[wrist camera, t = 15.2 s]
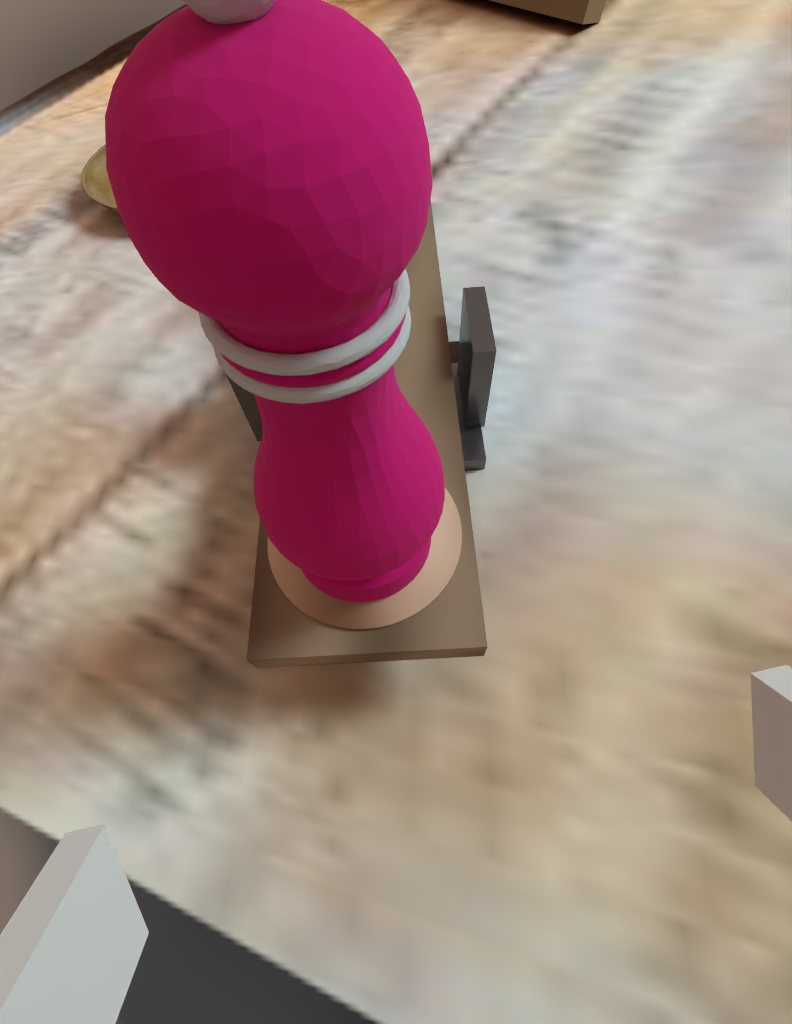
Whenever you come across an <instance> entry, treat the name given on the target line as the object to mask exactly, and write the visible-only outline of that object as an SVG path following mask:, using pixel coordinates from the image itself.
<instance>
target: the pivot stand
mask: <svg viewBox="0 0 792 1024" xmlns="http://www.w3.org/2000/svg"><path fill="white" fill-rule="evenodd" d="M459 352H460V358H459V363H451V366H452V373H453V381H454V389H455V397H456V405H457V413H458V421H459V429H460V436H461V444H462V452H463V460H464V468H465V470H471V469H484V468H485V462H486V456H485V450H484V443H483V436H482V430H481V427H484V425H485V418H486V412H487V406H488V399H489V393H490V387H491V381H492V374H493V368H494V362H495V355H496V347H495V341H494V336H493V330H492V325H491V319H490V314H489V309H488V303H487V298H486V292H485V287H471V288H463V299H462V313H461V326H460V340H459ZM226 375H227V374H226ZM227 377H228V379H229V381H230V384H231V386H232V388H233V390H234V392H235V394H236V396H237V398H238V401H239V403H240V405H241V407H242V409H243V411H244V413H245V415H246V417H247V420H248V422H249V424H250V426H251V428H252V430H253V432H254V434H255V437H256V439H257V441H261V440H262V436H263V427H262V419H261V415H260V412H259V409H258V405H257V402H256V399H255V396H254V394H253V393H251V392H249V391H247V390H245V389H243V388H242V387H241V386H239V385H238V384H236V383H235V382H234V381H233V380H232V379H231V378H230V377H229V376H228V375H227Z"/></svg>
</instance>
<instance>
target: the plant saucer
mask: <svg viewBox="0 0 792 1024" xmlns="http://www.w3.org/2000/svg"><path fill="white" fill-rule="evenodd" d="M81 181H82V186H83V188H84V190H85V192H86V193H87V195H88V196H89V197H90V198H92V199H93V200H95V201H96V202H98V203H99V204H101V205H103V206H105V207H106V208H108V209H110V210H112V211H115V212H117V213H119V212H118V209H117V205H116V202H115V198H114V195H113V191H112V187H111V184H110V180H109V177H108V173H107V170H106V145H104V146H103V147H101V148H100V149H99V150H98V151H97V152H96V153H95V154H94V155H93V156H92V157H91V158H90V159H89V161H88V162H87V164H86V165H85V167H84V169H83V172H82V179H81Z"/></svg>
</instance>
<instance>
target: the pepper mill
mask: <svg viewBox="0 0 792 1024" xmlns="http://www.w3.org/2000/svg"><path fill="white" fill-rule="evenodd" d="M183 1H184V2H185V3H186V4H187V5H188V7H185V8H183V9H181V10H179V11H178V12H176V13H174V14H172V15H170V16H169V17H167V18H166V19H165V20H163V21H162V22H161V23H159V24H158V25H157V26H156V27H155V28H154V29H153V30H152V31H151V32H149V33H148V34H147V35H146V36H145V37H144V38H143V39H142V40H141V41H140V42H139V43H138V44H137V45H136V47H135V48H134V50H133V51H132V53H131V54H130V56H129V57H128V59H127V61H126V62H125V64H124V65H123V67H122V69H121V71H120V73H119V75H118V77H117V79H116V81H115V83H114V85H113V88H112V92H111V96H110V99H109V103H108V107H107V111H106V115H105V133H106V170H107V173H108V177H109V180H110V184H111V187H112V191H113V195H114V198H115V202H116V205H117V209H118V212H119V215H120V217H121V219H122V222H123V224H124V226H125V228H126V230H127V233H128V235H129V237H130V239H131V240H132V242H133V244H134V246H135V247H136V249H137V251H138V252H139V254H140V256H141V258H142V259H143V261H144V263H145V264H146V265H147V266H148V268H149V269H150V270H151V271H152V273H153V274H154V275H155V277H156V278H157V279H158V280H159V281H160V282H161V283H162V284H163V285H164V286H165V287H166V288H167V289H168V290H169V291H170V292H171V293H172V294H173V295H174V296H175V297H176V298H177V299H178V300H179V301H181V302H183V303H185V304H186V305H188V306H190V307H192V308H193V309H195V310H197V311H199V316H200V321H201V326H202V328H203V330H204V332H205V334H206V337H207V338H208V339H209V341H210V342H211V343H212V345H213V347H214V351H215V355H216V358H217V360H218V362H219V365H220V366H221V367H222V369H223V370H224V372H225V373H226V374H227V375H228V376H229V377H230V378H231V379H232V380H233V381H234V382H235V383H236V384H238V385H239V386H241V387H242V388H243V389H245V390H247V391H249V392H251V393H253V394H254V396H255V399H256V402H257V405H258V409H259V412H260V415H261V419H262V427H263V436H262V440H261V443H260V447H259V450H258V454H257V458H256V463H255V471H254V496H255V502H256V508H257V510H258V513H259V516H260V519H261V521H262V524H263V526H264V528H265V531H266V533H267V535H268V537H269V539H270V541H271V542H272V543H273V544H274V546H275V547H276V548H277V550H278V551H279V552H280V553H281V554H282V555H283V556H284V557H285V558H286V559H287V560H289V561H290V562H291V563H293V564H294V565H295V566H297V567H299V568H300V569H301V570H302V572H303V573H304V575H305V577H306V578H307V579H308V580H309V581H310V582H311V583H312V584H313V585H314V586H315V587H316V588H318V589H319V590H320V591H321V592H323V593H325V594H327V595H329V596H331V597H333V598H336V599H340V600H344V601H349V602H369V601H376V600H379V599H383V598H386V597H388V596H391V595H393V594H395V593H397V592H398V591H400V590H402V589H403V588H404V587H406V586H407V585H408V584H409V583H410V582H412V581H413V580H414V579H415V577H416V576H417V575H418V574H419V572H420V571H421V569H422V568H423V566H424V564H425V562H426V560H427V558H428V554H429V551H430V546H431V536H432V535H433V533H434V531H435V529H436V527H437V526H438V523H439V520H440V518H441V515H442V512H443V506H444V500H445V484H444V474H443V468H442V462H441V458H440V455H439V453H438V450H437V447H436V445H435V443H434V441H433V438H432V436H431V434H430V432H429V430H428V429H427V427H426V425H425V424H424V422H423V421H422V420H421V418H420V417H419V416H418V414H417V413H416V412H415V411H414V409H413V408H412V407H411V405H410V404H409V403H408V401H407V400H406V398H405V397H404V396H403V394H402V393H401V391H400V388H399V386H398V383H397V381H396V376H395V370H394V363H395V362H396V361H397V360H398V358H399V356H400V355H401V353H402V352H403V350H404V348H405V346H406V343H407V340H408V338H409V335H410V327H411V315H410V309H409V305H408V303H409V299H410V284H409V279H408V274H407V272H406V269H405V268H406V267H407V265H408V264H409V262H410V260H411V259H412V257H413V256H414V254H415V253H416V251H417V250H418V248H419V245H420V242H421V240H422V237H423V234H424V232H425V229H426V226H427V219H428V212H429V205H430V198H431V191H432V175H431V163H430V152H429V143H428V138H427V134H426V129H425V125H424V120H423V116H422V111H421V107H420V104H419V101H418V99H417V97H416V95H415V92H414V90H413V88H412V85H411V83H410V81H409V79H408V77H407V76H406V74H405V73H404V71H403V70H402V68H401V66H400V65H399V63H398V62H397V60H396V59H395V57H394V56H393V54H392V53H391V52H390V50H389V49H388V48H387V46H386V45H385V44H384V43H383V41H382V40H381V39H380V38H379V37H378V36H377V35H375V34H374V33H373V32H372V31H371V30H369V29H368V28H367V27H365V26H364V25H363V24H362V23H360V22H359V21H358V20H356V19H355V18H354V17H352V16H351V15H350V14H348V13H347V12H346V11H344V10H343V9H341V8H338V7H336V6H333V5H331V4H329V3H326V2H324V1H321V0H183Z"/></svg>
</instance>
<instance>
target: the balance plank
mask: <svg viewBox="0 0 792 1024" xmlns="http://www.w3.org/2000/svg"><path fill="white" fill-rule="evenodd" d="M405 269H406V272H407V274H408V279H409V284H410V299H409V303H408V305H409V309H410V315H411V327H410V335H409V338H408V340H407V343H406V346H405V348H404V350H403V352H402V353H401V355H400V356H399V358H398V360H397V361H396V362H395V363H394V370H395V376H396V381H397V383H398V386H399V388H400V391H401V393H402V394H403V396H404V397H405V398H406V400H407V401H408V403H409V404H410V405H411V407H412V408H413V409H414V411H415V412H416V413H417V414H418V416H419V417H420V418H421V420H422V421H423V422H424V424H425V425H426V427H427V429H428V430H429V432H430V434H431V436H432V438H433V441H434V443H435V445H436V447H437V450H438V453H439V455H440V458H441V462H442V468H443V474H444V484H445V500H444V506H443V512H442V515H441V518H440V520H439V523H438V526H437V527H436V529H435V531H434V533H433V535H432V536H431V546H430V551H429V554H428V558H427V560H426V562H425V564H424V566H423V568H422V569H421V571H420V572H419V574H418V575H417V576H416V577H415V579H414V580H413V581H412V582H410V583H409V584H408V585H407V586H406V587H404V588H403V589H402V590H400V591H398V592H397V593H395V594H393V595H391V596H388V597H386V598H383V599H379V600H376V601H369V602H349V601H344V600H340V599H336V598H333V597H331V596H329V595H327V594H325V593H323V592H321V591H320V590H319V589H318V588H316V587H315V586H314V585H313V584H312V583H311V582H310V581H309V580H308V579H307V578H306V577H305V575H304V573H303V572H302V570H301V569H300V568H299V567H297V566H295V565H294V564H293V563H291V562H290V561H289V560H287V559H286V558H285V557H284V556H283V555H282V554H281V553H280V552H279V551H278V550H277V548H276V547H275V546H274V544H273V543H272V542H271V541H270V539H269V537H268V535H267V533H266V531H265V528H264V526H263V524H262V521H261V519H260V528H259V538H258V549H257V559H256V570H255V580H254V591H253V601H252V612H251V622H250V633H249V644H248V654H247V660H248V661H249V662H250V663H251V664H253V665H254V666H255V667H256V668H268V667H286V666H304V665H323V664H341V663H359V662H378V661H396V660H414V659H433V658H451V657H469V656H484V654H485V651H486V649H487V641H486V633H485V625H484V618H483V610H482V602H481V594H480V586H479V578H478V570H477V562H476V555H475V547H474V539H473V531H472V523H471V515H470V507H469V499H468V492H467V484H466V476H465V468H464V460H463V452H462V444H461V436H460V429H459V421H458V413H457V405H456V397H455V389H454V381H453V373H452V366H451V363H459V358H460V352H459V342H458V341H455V342H448V334H447V326H446V318H445V310H444V303H443V295H442V287H441V279H440V271H439V263H438V255H437V247H436V240H435V232H434V224H433V216H432V208H431V200H430V205H429V212H428V219H427V226H426V229H425V232H424V234H423V237H422V240H421V242H420V245H419V248H418V250H417V251H416V253H415V254H414V256H413V257H412V259H411V260H410V262H409V264H408V265H407V267H406V268H405Z"/></svg>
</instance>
